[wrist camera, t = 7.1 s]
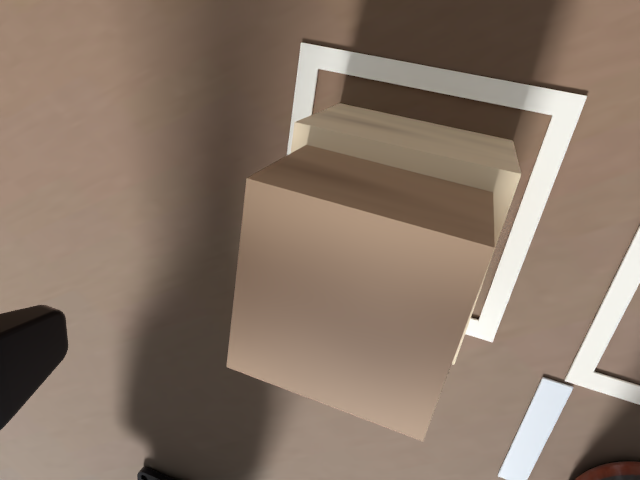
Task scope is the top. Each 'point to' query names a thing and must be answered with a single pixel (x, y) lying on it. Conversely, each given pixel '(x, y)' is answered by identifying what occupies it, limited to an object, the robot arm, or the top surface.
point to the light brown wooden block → (357, 283)
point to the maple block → (418, 152)
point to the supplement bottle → (613, 472)
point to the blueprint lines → (565, 115)
